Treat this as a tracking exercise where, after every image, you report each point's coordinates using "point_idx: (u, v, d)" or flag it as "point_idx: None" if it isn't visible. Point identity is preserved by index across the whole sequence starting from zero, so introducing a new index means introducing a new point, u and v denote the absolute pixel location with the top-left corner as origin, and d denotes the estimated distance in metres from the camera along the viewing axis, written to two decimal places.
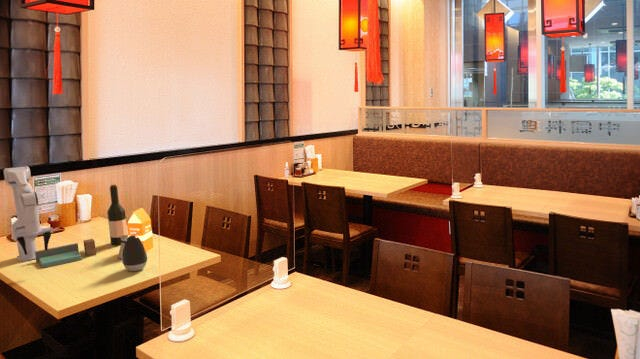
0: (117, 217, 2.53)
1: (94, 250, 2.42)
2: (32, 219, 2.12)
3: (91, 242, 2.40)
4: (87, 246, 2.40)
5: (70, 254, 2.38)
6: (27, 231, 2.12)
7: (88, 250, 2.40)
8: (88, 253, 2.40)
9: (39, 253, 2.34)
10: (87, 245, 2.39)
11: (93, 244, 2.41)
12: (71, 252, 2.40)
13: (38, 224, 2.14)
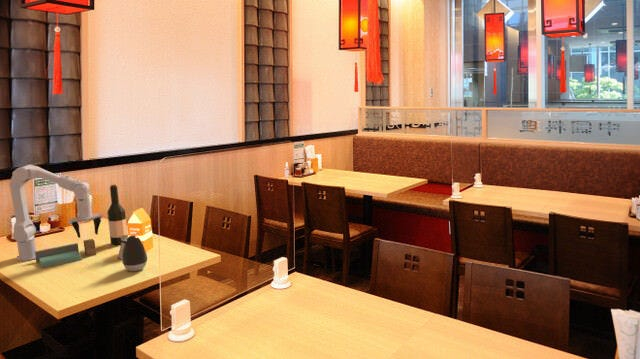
0: (117, 217, 2.53)
1: (94, 250, 2.42)
2: (90, 204, 2.38)
3: (91, 242, 2.40)
4: (87, 246, 2.40)
5: (70, 254, 2.38)
6: (81, 216, 2.36)
7: (88, 250, 2.40)
8: (88, 253, 2.40)
9: (39, 253, 2.34)
10: (87, 245, 2.39)
11: (93, 244, 2.41)
12: (71, 252, 2.40)
13: (90, 210, 2.38)
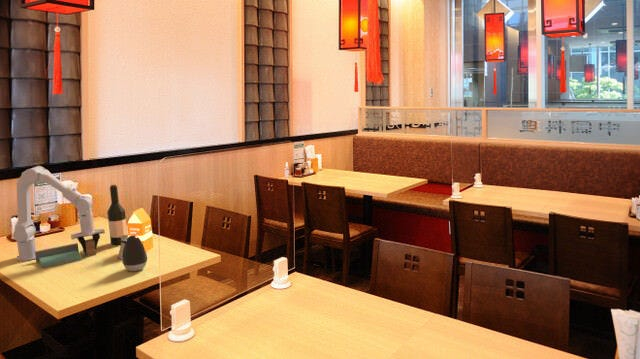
0: (117, 217, 2.53)
1: (94, 250, 2.42)
2: (92, 220, 2.40)
3: (91, 242, 2.40)
4: (87, 246, 2.40)
5: (70, 254, 2.38)
6: (83, 232, 2.38)
7: (88, 250, 2.40)
8: (88, 253, 2.40)
9: (39, 253, 2.34)
10: (87, 245, 2.39)
11: (93, 244, 2.41)
12: (71, 252, 2.40)
13: (92, 226, 2.40)
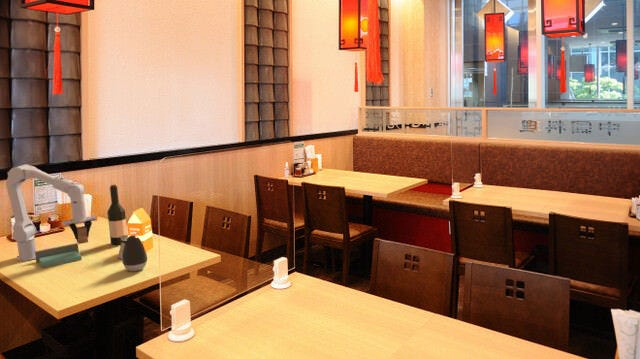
0: (117, 217, 2.53)
1: (86, 237, 2.39)
2: (84, 207, 2.37)
3: (83, 229, 2.37)
4: (79, 233, 2.37)
5: (70, 254, 2.38)
6: (75, 219, 2.35)
7: (80, 237, 2.37)
8: (80, 240, 2.37)
9: (39, 253, 2.34)
10: (79, 232, 2.37)
11: (85, 231, 2.38)
12: (71, 252, 2.40)
13: (84, 212, 2.37)
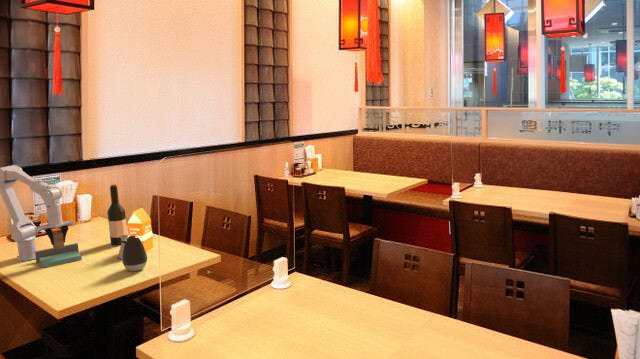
0: (117, 217, 2.53)
1: (62, 243, 2.33)
2: (59, 212, 2.30)
3: (59, 234, 2.31)
4: (55, 238, 2.31)
5: (70, 254, 2.38)
6: (50, 224, 2.29)
7: (56, 243, 2.31)
8: (56, 246, 2.31)
9: (39, 253, 2.34)
10: (55, 237, 2.31)
11: (61, 236, 2.32)
12: (71, 252, 2.40)
13: (60, 217, 2.31)
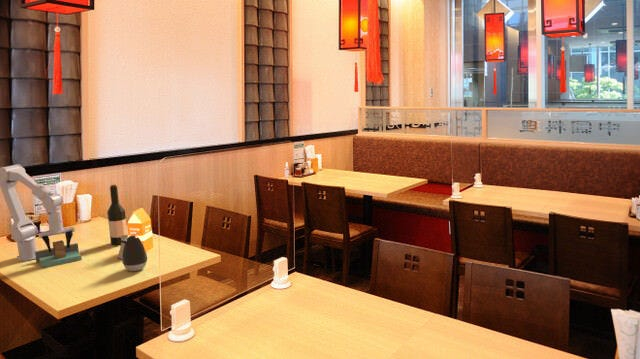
0: (117, 217, 2.53)
1: (64, 252, 2.34)
2: (60, 218, 2.31)
3: (60, 244, 2.32)
4: (56, 248, 2.32)
5: (70, 254, 2.38)
6: (51, 230, 2.30)
7: (57, 252, 2.32)
8: (57, 255, 2.32)
9: (39, 253, 2.34)
10: (56, 247, 2.31)
11: (62, 246, 2.33)
12: (71, 252, 2.40)
13: (61, 224, 2.32)
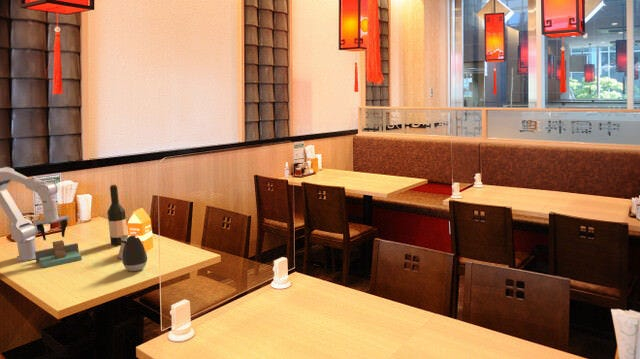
0: (117, 217, 2.53)
1: (64, 252, 2.34)
2: (55, 207, 2.32)
3: (60, 244, 2.32)
4: (56, 248, 2.32)
5: (70, 254, 2.38)
6: (46, 219, 2.30)
7: (57, 252, 2.32)
8: (57, 255, 2.32)
9: (39, 253, 2.34)
10: (56, 247, 2.31)
11: (62, 246, 2.33)
12: (71, 252, 2.40)
13: (56, 212, 2.32)
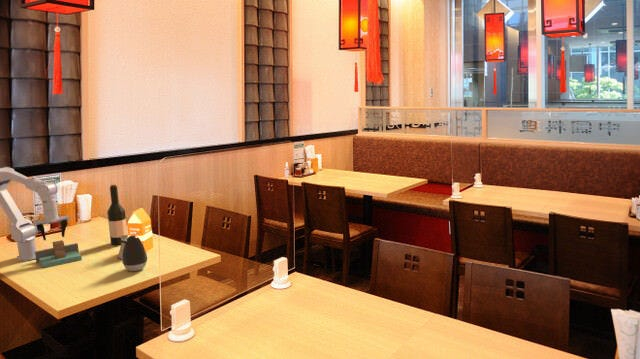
0: (117, 217, 2.53)
1: (64, 252, 2.34)
2: (55, 207, 2.32)
3: (60, 244, 2.32)
4: (56, 248, 2.32)
5: (70, 254, 2.38)
6: (46, 219, 2.30)
7: (57, 252, 2.32)
8: (57, 255, 2.32)
9: (39, 253, 2.34)
10: (56, 247, 2.31)
11: (62, 246, 2.33)
12: (71, 252, 2.40)
13: (56, 212, 2.32)
